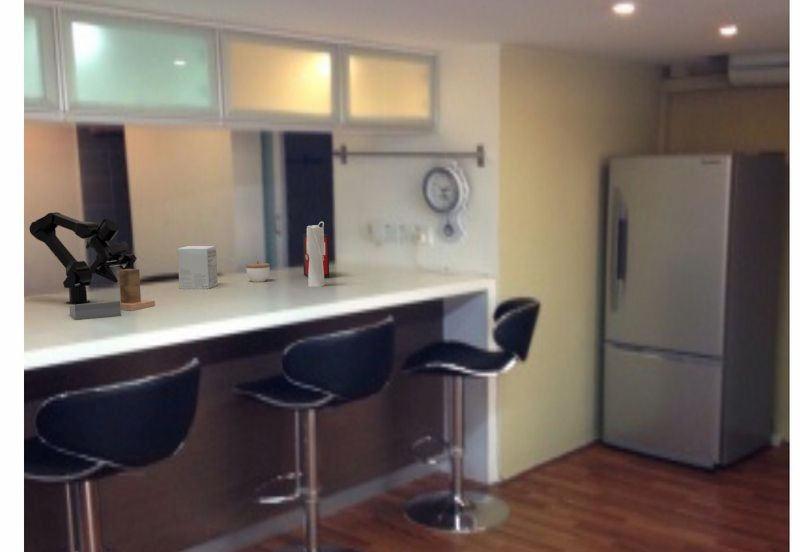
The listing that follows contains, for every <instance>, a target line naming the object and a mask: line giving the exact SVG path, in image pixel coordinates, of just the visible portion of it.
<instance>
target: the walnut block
mask: <svg viewBox="0 0 800 552" xmlns="http://www.w3.org/2000/svg"><path fill="white" fill-rule="evenodd" d="M118 274H119V276H118V277H119V290H120V291H119V293H120V294H119V295H120V301H121V303H135V302H140V301H141V300H142V297H141V279H140V278H141V277H140V269H137V268H134V269H124V270H123V269H119V270H118Z"/></svg>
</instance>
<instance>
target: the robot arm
mask: <svg viewBox="0 0 800 552" xmlns="http://www.w3.org/2000/svg"><path fill="white" fill-rule="evenodd" d="M58 227H61V228H64V229H67V230H69V231H72V232H74V234H75V235H76V236H77V237H79V238H80V239H83V240H85V239H89V240H87V241H86V245H85V249H92V250H93V251H94V253H95V254H96V256H95V259H94V261H93V262H92V263H91V265H88V263H87V262H86V261H85V260H81V261H78V260H77V259H76V258H75V257H74V255H72V253H71V252H70V251H69V250H68V248H67V247H66V246H65V245H64V244H63V242H62V241H61V240H60V239H59V237H58V236H57V233H56V232H57V228H58ZM28 229H29V233H30V235H31V236H32V237H34V238H35V239H36V240H37V241H39V242H42V243H44V244H45V245H46V246H47V248H48V249H49V250H50V251H51V252H52V254H53V255H54V257H56V258H57V260H59V261H58V262H60V263H61V265H62V266H63V267H64V268H65V275H66V278H65V279H64V281H63V282H62V283H63V288H65V289H68V295H69V296H68V297H69V299H68V301H66V302H65V303H66V304H72V305H73V304H74V305H77V304H87V303H90V302H91V300H90V299H88V293H87V287H89V286H91V283H92V278H93V275H96V276H100V277H102V278H104V279H107V280H109V281H111V282H112V283H113V282H114V283H115V284H117V282H118V281H119V280H118V279H117V277H116V275H115V273H114V272H113V271H112V269H111V267H117V266H119V268H121V270H124V269H135V268H134V264H135V262H136V260H137V259H138V258H137V257H136V256H135V254H124V253H125V252H127V251H128V250H129V249H130V246H129V243H127V242H126V241H121V242H117V243H115V244H113V245H110V244H109V243H108V242H111V241H112V240H113V238H114V237H115V236H116V235H117V233H118V232H119V231H120V226H119V224H118V223H116V222H115V221H113V220H111V219H109V217H108V218H103V219H102V221H101V223H100V224H99V223H97V222H91V221H81V220H79V219H76V218H72V217H70V216H67V215H64V214H62V213H61V212H57V211H56V212H48V213H47V214H45V215H44V216H42V217H40V218H38V219H36V220H35V221H31V223H30V226H29V228H28ZM123 254H124V256H123ZM122 256H123V257H122ZM121 257H122V259H120V258H121Z"/></svg>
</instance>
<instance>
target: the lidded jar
mask: <svg viewBox="0 0 800 552" xmlns="http://www.w3.org/2000/svg"><path fill="white" fill-rule="evenodd" d="M270 266H271V265H270V263H265V262H260V261H259V260H256V262H255V263H254V262H253V263H247V264H245V269H246V271H245V272H246V275H247V277H248V279H249V280H250V281H251V282H253V283H261V282H262V283H263V282H266V280H267V279H268V277H269V275H270Z"/></svg>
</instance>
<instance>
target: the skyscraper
mask: <svg viewBox="0 0 800 552" xmlns="http://www.w3.org/2000/svg"><path fill="white" fill-rule="evenodd" d="M320 224H322V226H321V227H320ZM324 227H325V222H324V221H320V222H319V223H318V224H316V225H315V224H314V225H313V224H312V225H308V226H306V234H307V248H308V254H309V274H308V277H307V278H308V279H307V281H308V282H307V283H308V285H307V286H308V288H322V287H324V286H325V279H324V269H323V261H322V255H323V249H324V234H325V233H324V232H325V231H324V230H325V229H324Z"/></svg>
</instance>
